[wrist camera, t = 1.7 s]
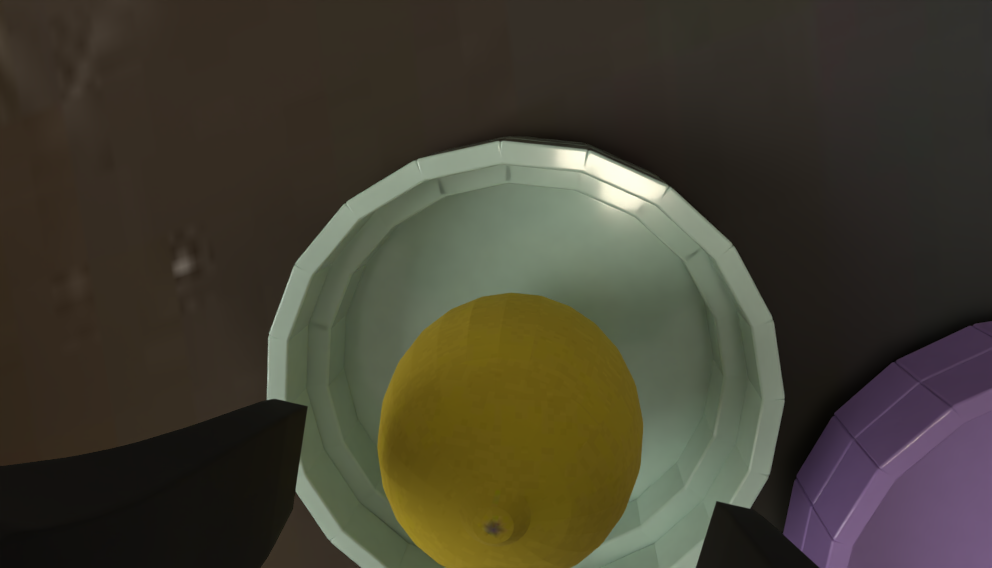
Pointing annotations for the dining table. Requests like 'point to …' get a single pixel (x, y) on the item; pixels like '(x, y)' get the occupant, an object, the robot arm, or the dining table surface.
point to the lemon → (510, 435)
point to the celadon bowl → (545, 272)
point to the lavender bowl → (905, 466)
